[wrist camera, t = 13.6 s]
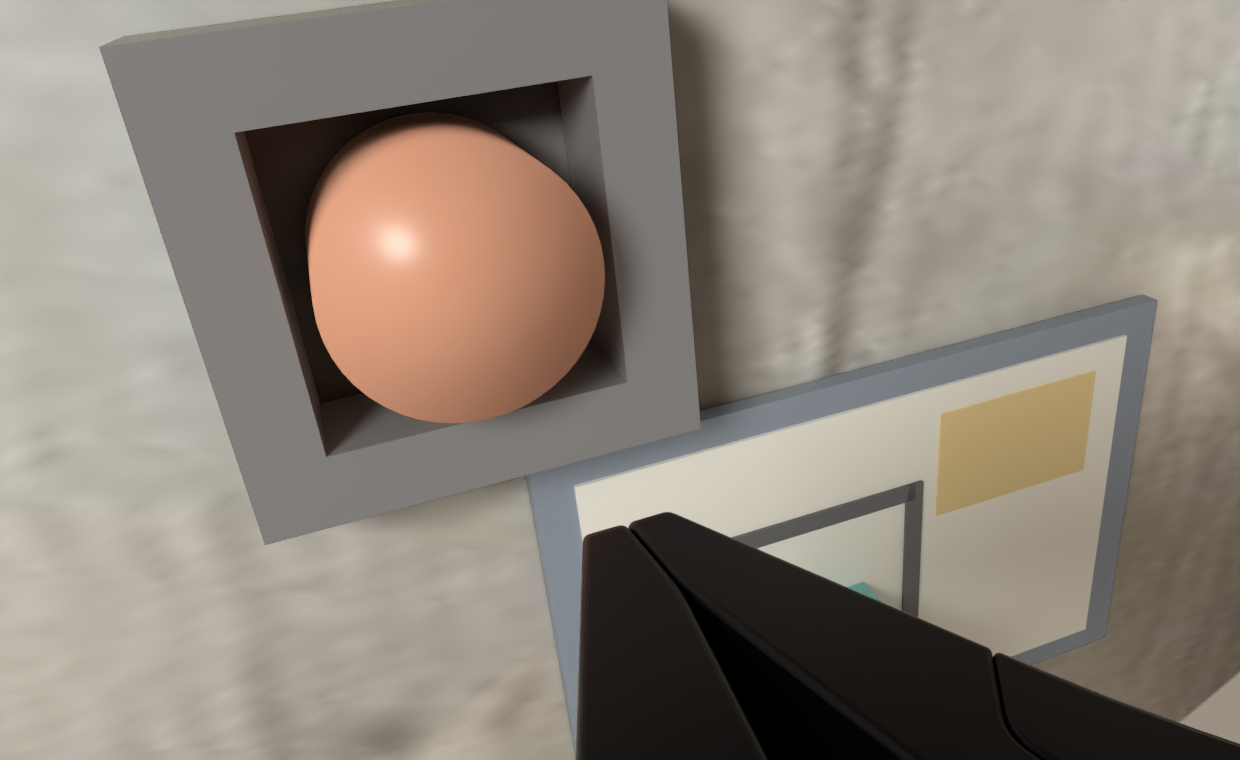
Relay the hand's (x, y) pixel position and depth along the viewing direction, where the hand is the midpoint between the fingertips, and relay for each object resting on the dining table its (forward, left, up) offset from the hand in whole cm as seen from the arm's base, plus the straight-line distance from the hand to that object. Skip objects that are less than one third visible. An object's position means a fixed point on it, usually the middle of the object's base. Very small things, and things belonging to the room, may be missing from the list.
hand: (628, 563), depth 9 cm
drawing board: (-10, +11, -12) cm, 19 cm away
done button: (0, 0, -12) cm, 12 cm away
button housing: (0, 0, -12) cm, 12 cm away
